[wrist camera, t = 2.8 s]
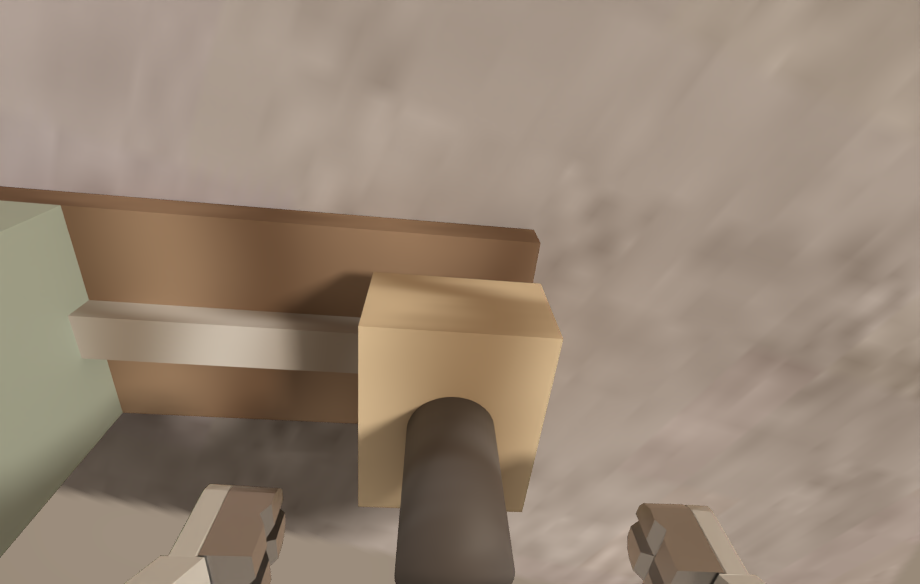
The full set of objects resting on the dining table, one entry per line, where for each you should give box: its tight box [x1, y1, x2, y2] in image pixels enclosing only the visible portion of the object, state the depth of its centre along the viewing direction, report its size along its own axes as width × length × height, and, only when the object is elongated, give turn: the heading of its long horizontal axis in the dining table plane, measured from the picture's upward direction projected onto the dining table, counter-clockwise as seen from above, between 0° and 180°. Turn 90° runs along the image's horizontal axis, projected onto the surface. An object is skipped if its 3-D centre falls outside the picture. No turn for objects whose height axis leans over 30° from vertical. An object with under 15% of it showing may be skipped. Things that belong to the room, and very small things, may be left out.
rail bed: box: [0, 186, 540, 424], centre depth 16 cm, size 19×8×2 cm, turn 84°
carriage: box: [358, 272, 563, 584], centre depth 13 cm, size 5×6×7 cm
